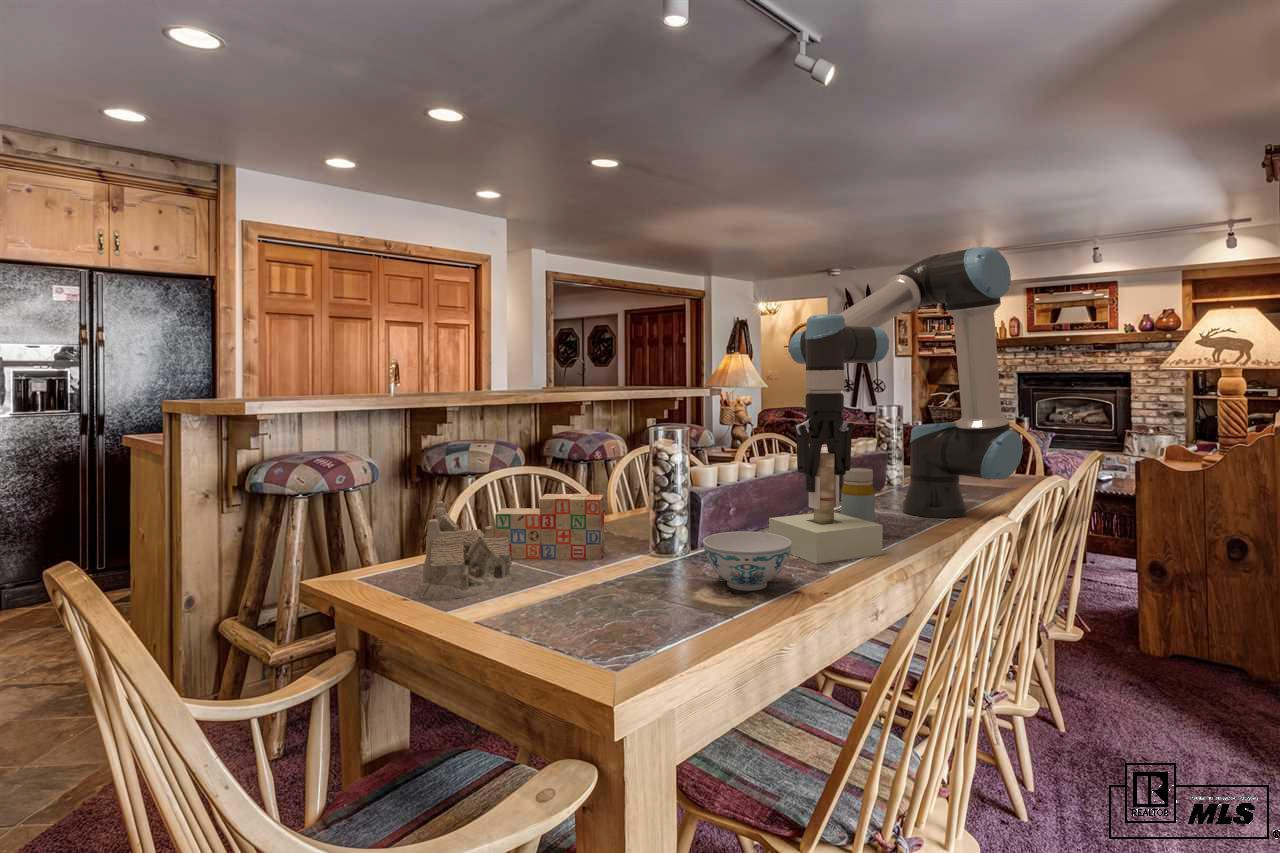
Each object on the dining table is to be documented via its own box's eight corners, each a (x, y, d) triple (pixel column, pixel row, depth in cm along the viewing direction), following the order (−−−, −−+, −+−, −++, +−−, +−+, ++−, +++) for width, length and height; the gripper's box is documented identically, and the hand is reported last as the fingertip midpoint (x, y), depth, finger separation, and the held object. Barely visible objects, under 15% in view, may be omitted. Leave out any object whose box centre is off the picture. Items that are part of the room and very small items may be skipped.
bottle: (834, 535, 160) (834, 468, 159) (858, 532, 163) (859, 466, 162) (856, 542, 154) (856, 472, 153) (881, 538, 157) (881, 470, 156)
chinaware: (803, 579, 126) (803, 536, 126) (773, 603, 113) (773, 555, 113) (724, 569, 134) (724, 528, 133) (688, 590, 121) (687, 545, 120)
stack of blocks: (495, 559, 144) (493, 498, 143) (503, 551, 150) (502, 493, 149) (601, 559, 143) (600, 498, 142) (605, 552, 149) (604, 493, 148)
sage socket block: (830, 538, 158) (831, 511, 157) (882, 554, 143) (882, 524, 142) (769, 546, 151) (769, 518, 151) (816, 563, 137) (816, 532, 136)
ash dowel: (825, 519, 149) (826, 452, 148) (838, 523, 145) (838, 454, 145) (809, 521, 148) (809, 453, 147) (821, 524, 144) (822, 455, 143)
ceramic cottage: (406, 600, 117) (410, 508, 117) (433, 576, 134) (436, 496, 133) (501, 604, 118) (506, 513, 117) (517, 580, 134) (520, 500, 134)
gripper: (846, 391, 152) (845, 501, 153) (778, 392, 145) (777, 507, 146) (871, 391, 145) (869, 506, 146) (800, 393, 138) (800, 513, 140)
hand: (823, 506), depth 146 cm, fingers closed on ash dowel, 4 cm apart
